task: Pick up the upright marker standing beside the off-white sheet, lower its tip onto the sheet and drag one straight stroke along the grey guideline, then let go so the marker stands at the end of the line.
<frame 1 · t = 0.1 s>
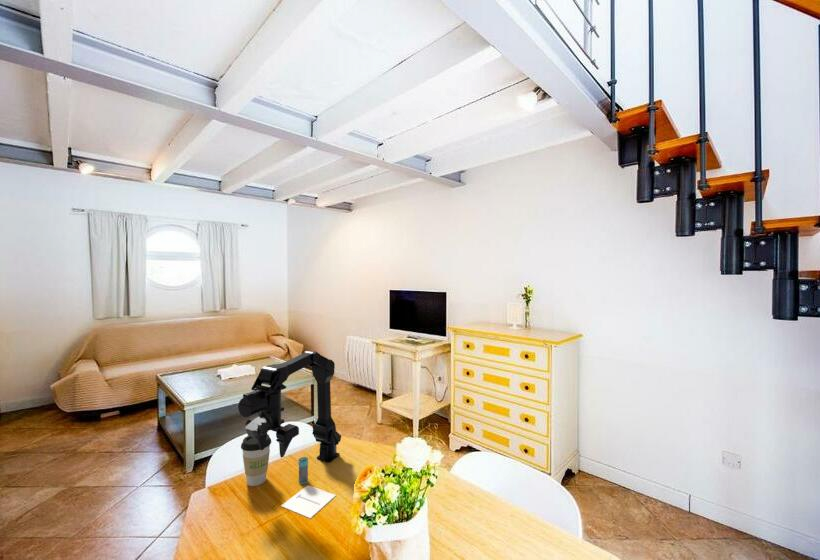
hand: (272, 453, 115), 15 cm above the table, fingers open, 9 cm apart
marker: (303, 481, 124), on the table
paper: (309, 500, 114), on the table
coffee cup: (256, 481, 125), on the table
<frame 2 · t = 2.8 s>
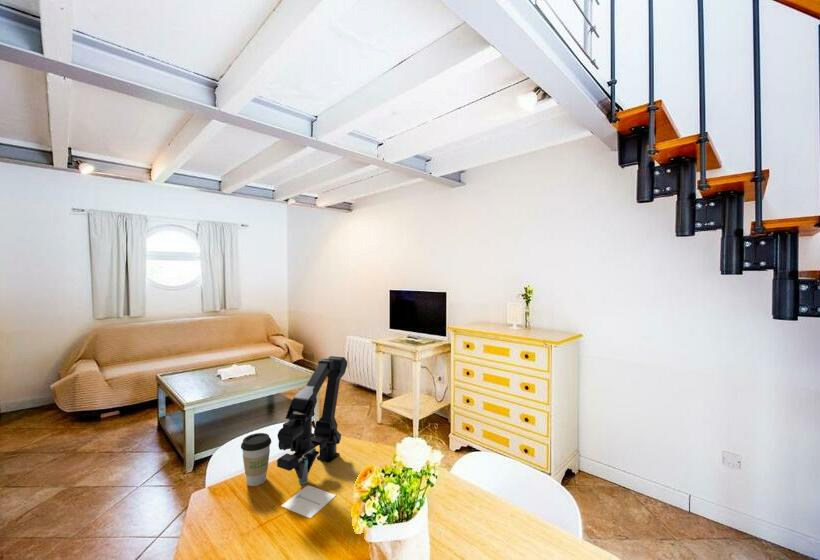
hand: (303, 476, 124), 2 cm above the table, fingers closed on marker, 3 cm apart
marker: (303, 481, 124), on the table, touching gripper
everything else where it was.
when the fingers open (2 cm above the table, at t = 8.3 s): marker stays where it is, resting on paper.
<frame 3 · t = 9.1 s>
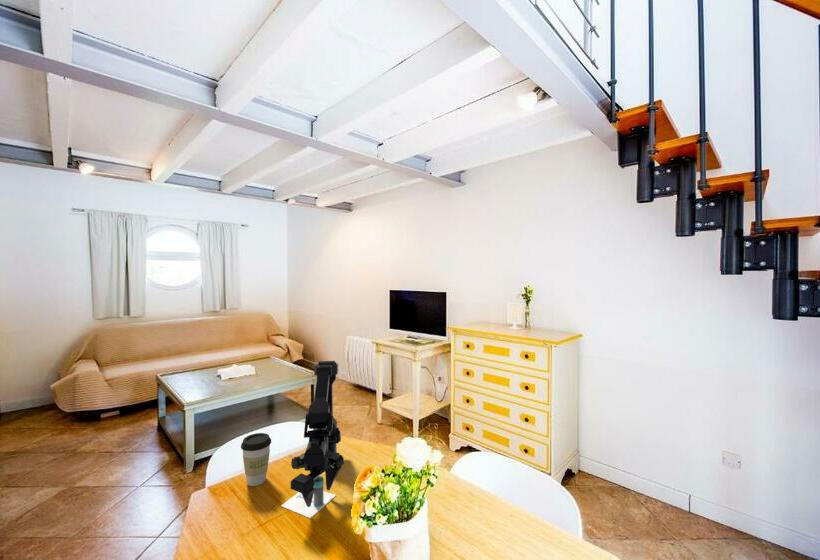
hand: (318, 497, 112), 2 cm above the table, fingers open, 9 cm apart
marker: (318, 504, 112), resting on paper
everything else where it was.
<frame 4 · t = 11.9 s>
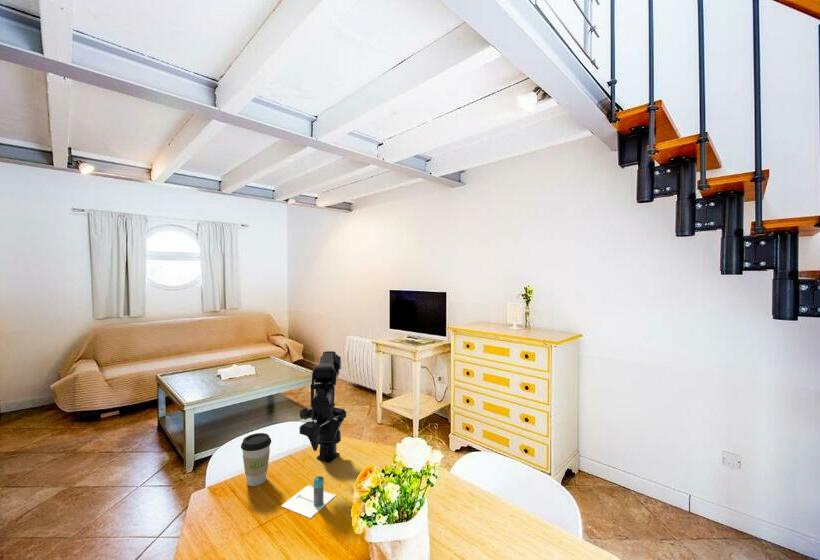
hand: (324, 444, 126), 12 cm above the table, fingers open, 9 cm apart
nothing on the table moved.
at the end: marker 0.1 cm from the target spot on the paper, point 0.2 cm above the paper's base; marker tilted 0°; the gripper is holding nothing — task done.
